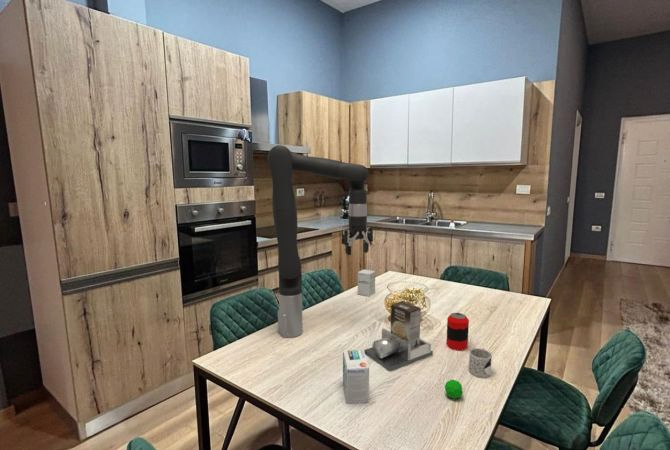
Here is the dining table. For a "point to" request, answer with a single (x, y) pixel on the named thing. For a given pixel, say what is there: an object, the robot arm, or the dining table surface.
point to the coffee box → (406, 322)
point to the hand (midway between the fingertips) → (357, 253)
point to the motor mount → (396, 351)
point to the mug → (480, 363)
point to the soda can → (457, 331)
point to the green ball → (453, 389)
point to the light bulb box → (355, 376)
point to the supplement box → (366, 282)
